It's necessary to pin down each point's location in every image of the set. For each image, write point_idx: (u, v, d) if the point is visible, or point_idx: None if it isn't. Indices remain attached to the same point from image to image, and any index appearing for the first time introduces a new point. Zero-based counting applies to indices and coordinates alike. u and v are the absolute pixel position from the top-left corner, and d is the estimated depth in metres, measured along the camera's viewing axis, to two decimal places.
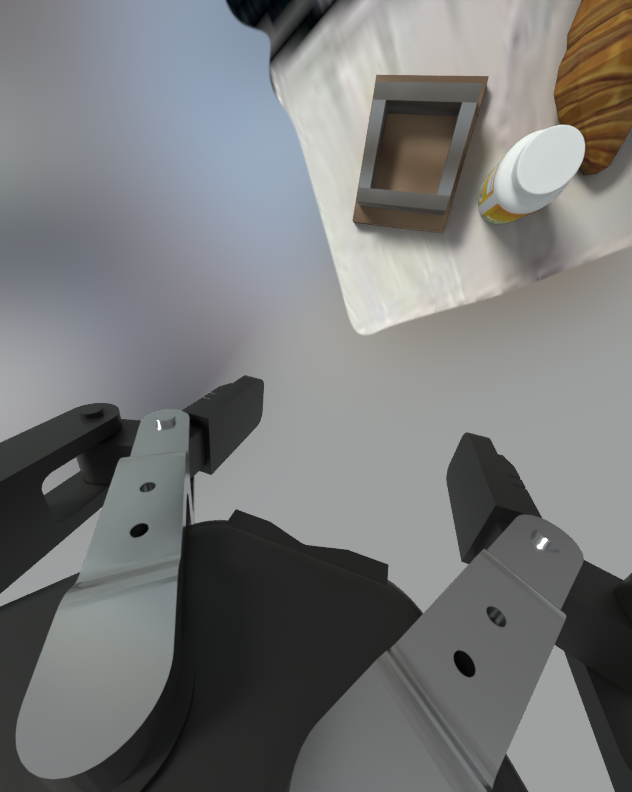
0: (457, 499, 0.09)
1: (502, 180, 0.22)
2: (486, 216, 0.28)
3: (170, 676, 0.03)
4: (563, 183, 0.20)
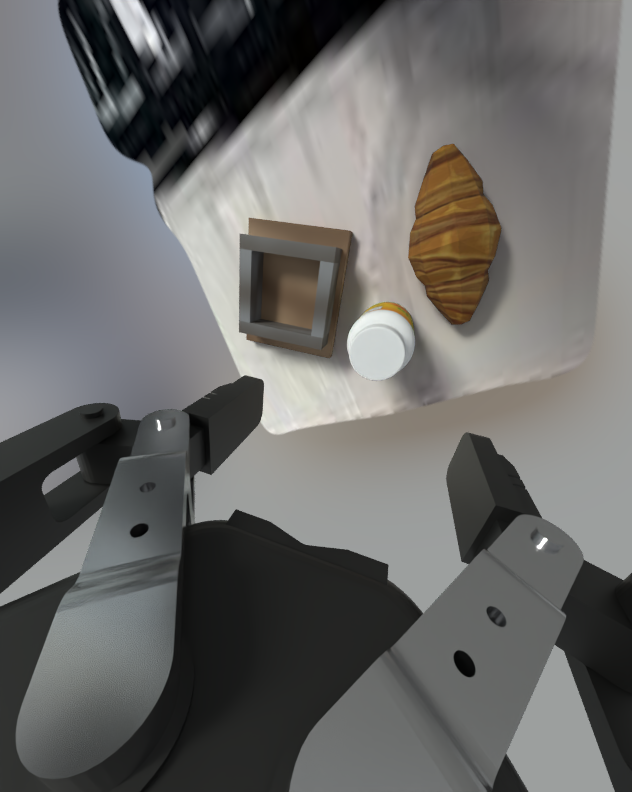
0: (457, 499, 0.09)
1: None
2: None
3: (170, 676, 0.03)
4: (391, 375, 0.20)
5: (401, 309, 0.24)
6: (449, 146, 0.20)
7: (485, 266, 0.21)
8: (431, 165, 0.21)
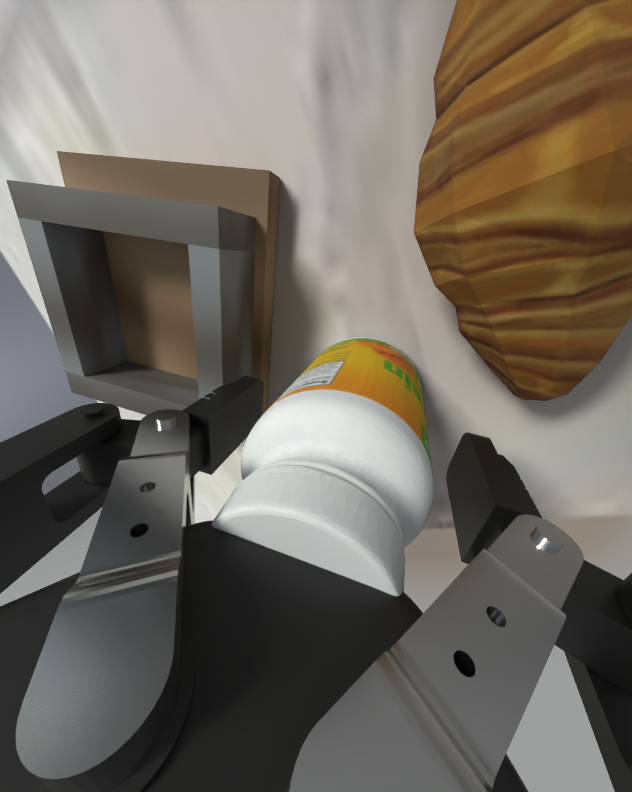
0: (457, 499, 0.09)
1: None
2: None
3: (170, 676, 0.03)
4: None
5: (394, 367, 0.10)
6: None
7: None
8: None
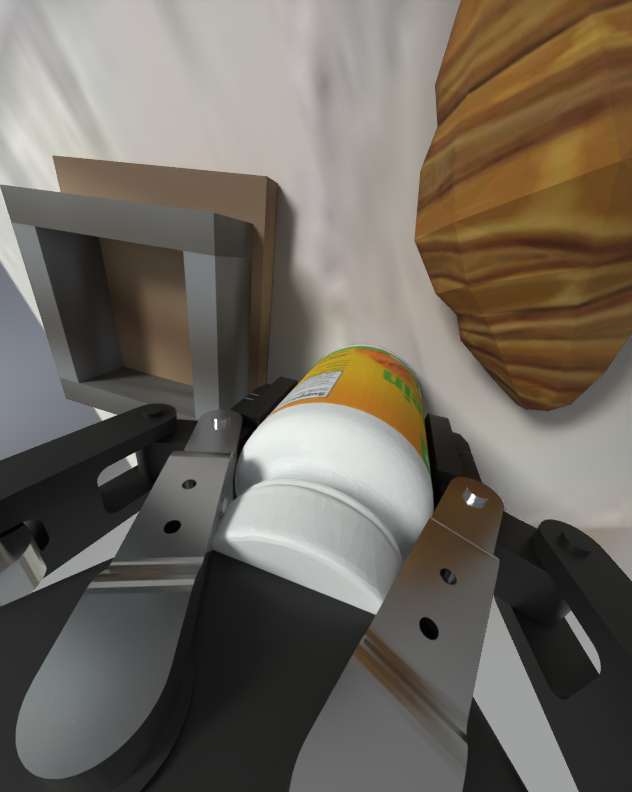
0: None
1: None
2: None
3: (170, 676, 0.03)
4: None
5: (393, 377, 0.09)
6: None
7: None
8: None
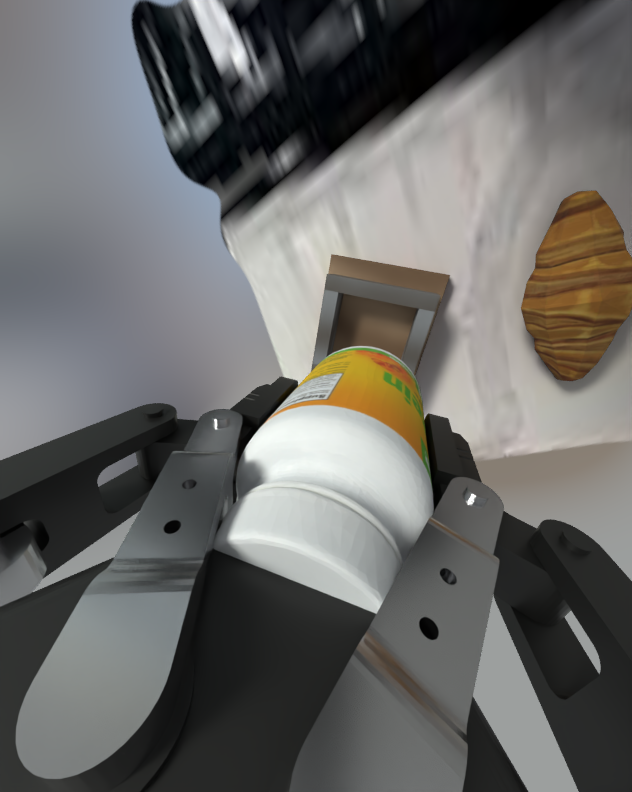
0: None
1: None
2: None
3: (170, 676, 0.03)
4: None
5: (393, 379, 0.09)
6: (591, 193, 0.18)
7: (619, 326, 0.19)
8: (566, 212, 0.18)
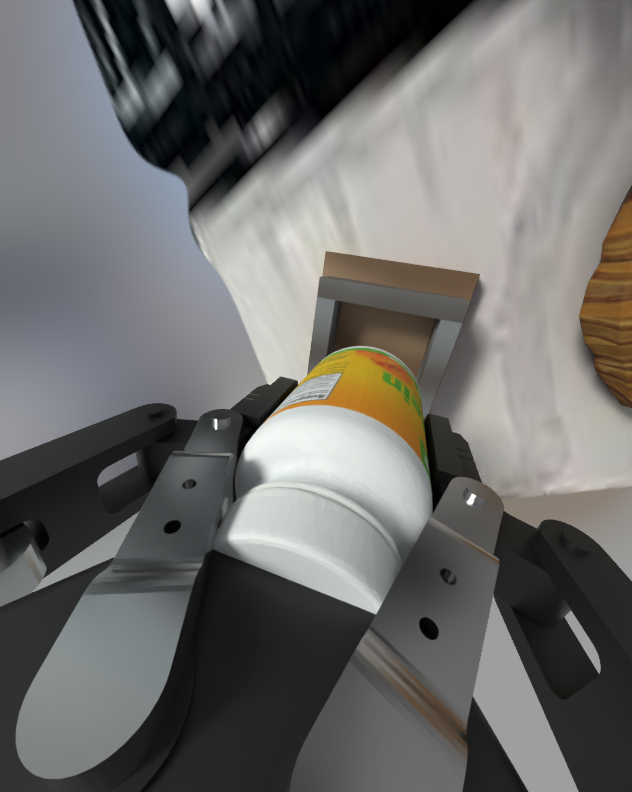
0: None
1: None
2: None
3: (170, 676, 0.03)
4: None
5: (393, 379, 0.09)
6: None
7: None
8: None
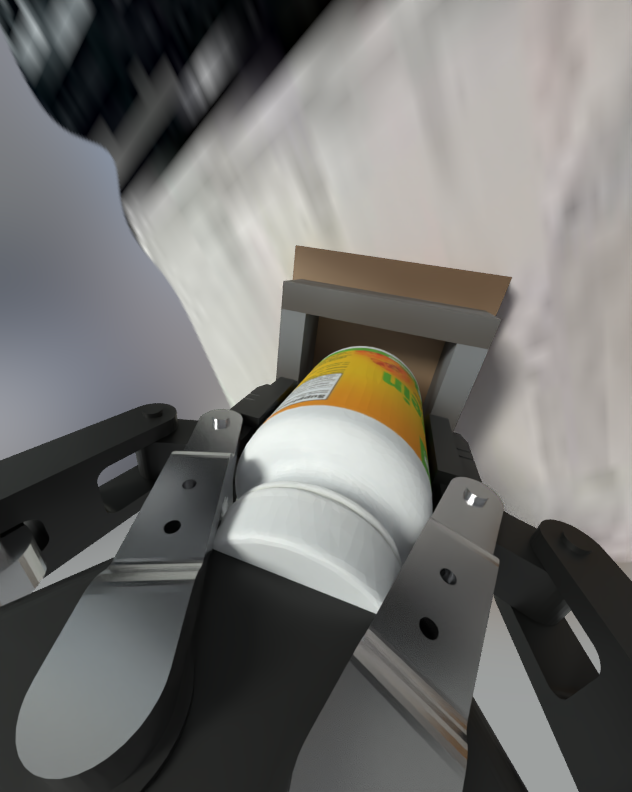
0: None
1: None
2: None
3: (170, 676, 0.03)
4: None
5: (393, 379, 0.09)
6: None
7: None
8: None
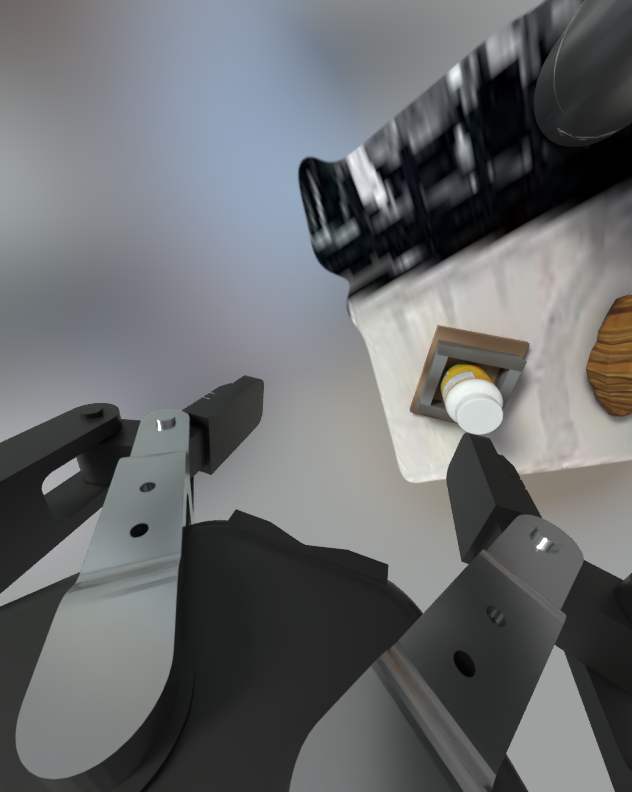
0: (457, 499, 0.09)
1: (450, 407, 0.30)
2: None
3: (170, 676, 0.03)
4: (489, 431, 0.27)
5: (485, 373, 0.31)
6: None
7: None
8: (621, 309, 0.28)
